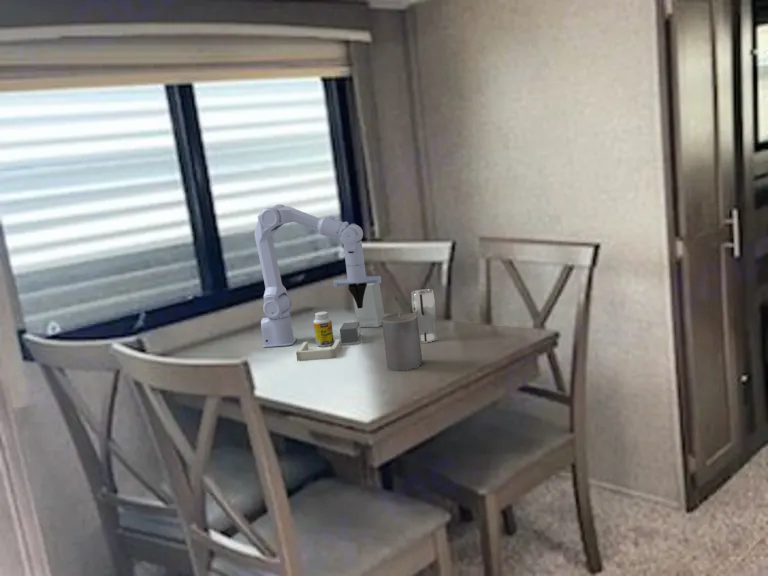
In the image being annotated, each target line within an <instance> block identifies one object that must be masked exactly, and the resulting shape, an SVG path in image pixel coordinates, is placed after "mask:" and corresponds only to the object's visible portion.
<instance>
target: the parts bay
mask: <svg viewBox="0 0 768 576" xmlns="http://www.w3.org/2000/svg"><path fill="white" fill-rule="evenodd" d="M341 348H342V346H341V338H339V339H335V340H334V343H333V344H332V345H331V348H322V349H310V348H309V341H303V343H301V345H300V347H299V348H298V349H297V350H296V352H295V353H296V361H298V360H299V361H311V360H322V359H335V358H337V355H338V354H339V352H340V350H341Z"/></svg>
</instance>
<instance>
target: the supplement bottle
mask: <svg viewBox="0 0 768 576" xmlns="http://www.w3.org/2000/svg"><path fill="white" fill-rule="evenodd" d="M332 323H333V322H332V318H330V317H329V314H328V312H327V311H318V312H316V313H315V314H314V319H313V329H314V336H315V344H316V346H317V347H321V348H322V347H323V348H324V347H325V348H326V347H330V346H333V344H334V343H335V339H334V333H333V325H332Z"/></svg>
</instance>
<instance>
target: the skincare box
mask: <svg viewBox="0 0 768 576" xmlns="http://www.w3.org/2000/svg"><path fill="white" fill-rule="evenodd" d="M360 283H361V282H360ZM352 300H353V305H354V306H353V307H354V312H355V319H356V322H359V324H360V328H379V327H381V326H382V318H383V317H385V316H386V315H385V310H384V304H383V303H384V302H383V298H382V291H381V283H372V284H367V286H366V289H365V293H364V298H363V307H362V308H358V307H357V304H356V301H355V299H354V297H353V296H352Z"/></svg>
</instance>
